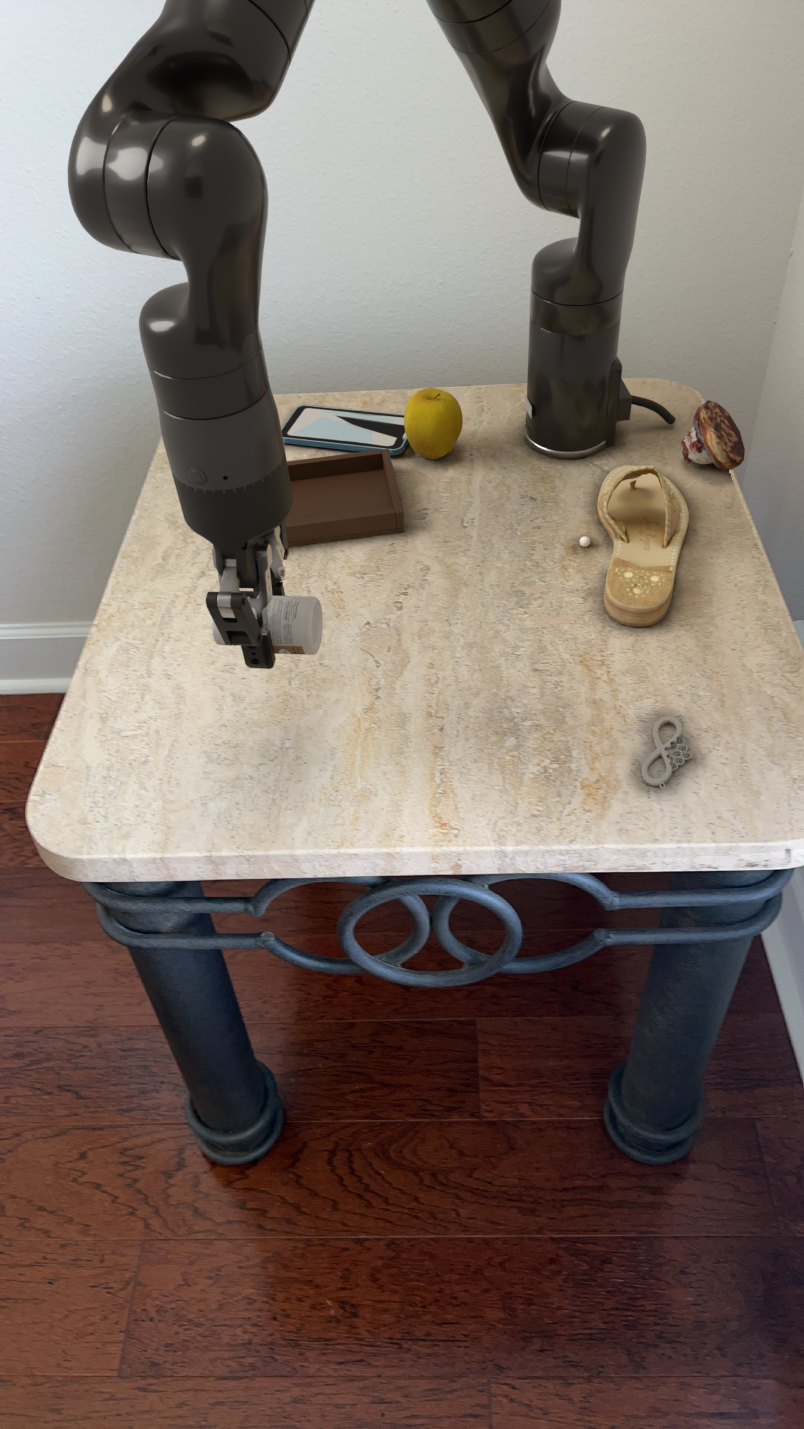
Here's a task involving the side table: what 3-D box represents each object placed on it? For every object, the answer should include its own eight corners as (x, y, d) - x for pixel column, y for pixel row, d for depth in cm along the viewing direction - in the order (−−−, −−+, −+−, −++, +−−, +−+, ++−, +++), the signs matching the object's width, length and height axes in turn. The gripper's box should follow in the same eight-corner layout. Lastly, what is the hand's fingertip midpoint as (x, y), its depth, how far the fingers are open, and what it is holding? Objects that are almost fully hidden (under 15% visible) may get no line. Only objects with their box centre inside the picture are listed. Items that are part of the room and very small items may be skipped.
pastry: (707, 432, 104) (666, 460, 107) (752, 476, 107) (711, 501, 111) (704, 384, 109) (665, 412, 112) (747, 428, 112) (708, 454, 115)
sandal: (524, 594, 98) (527, 524, 92) (617, 465, 112) (625, 397, 106) (653, 635, 94) (665, 565, 88) (735, 496, 107) (750, 426, 101)
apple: (453, 473, 113) (452, 407, 107) (397, 465, 114) (393, 400, 108) (470, 441, 117) (469, 375, 111) (415, 434, 118) (412, 369, 112)
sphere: (603, 594, 98) (600, 602, 99) (590, 532, 102) (587, 541, 103) (592, 594, 98) (589, 602, 99) (580, 532, 102) (577, 541, 103)
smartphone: (298, 403, 123) (419, 415, 119) (299, 410, 123) (420, 423, 119) (274, 437, 118) (400, 451, 114) (276, 444, 119) (400, 458, 115)
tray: (389, 467, 114) (388, 448, 112) (404, 531, 106) (403, 511, 104) (229, 488, 113) (225, 468, 111) (232, 554, 105) (228, 534, 103)
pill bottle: (324, 648, 81) (228, 644, 82) (323, 592, 80) (226, 589, 81) (311, 661, 77) (210, 657, 78) (310, 602, 76) (207, 598, 77)
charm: (636, 787, 82) (682, 795, 81) (636, 783, 82) (682, 790, 81) (657, 715, 87) (700, 721, 86) (657, 710, 87) (700, 717, 86)
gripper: (259, 521, 62) (298, 712, 75) (303, 393, 72) (331, 582, 84) (139, 518, 63) (198, 707, 76) (198, 392, 73) (242, 580, 85)
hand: (268, 641), depth 80 cm, fingers closed on pill bottle, 4 cm apart
